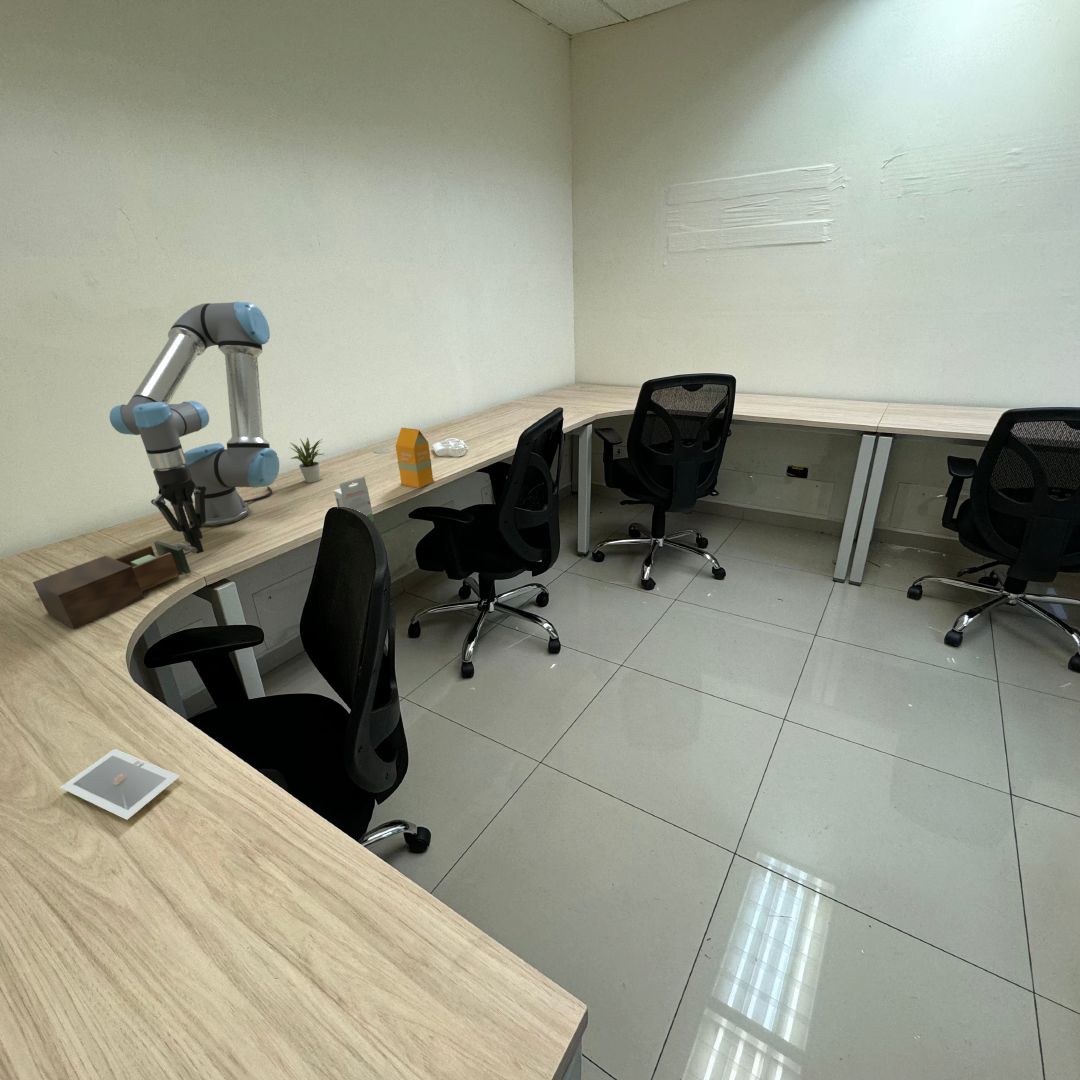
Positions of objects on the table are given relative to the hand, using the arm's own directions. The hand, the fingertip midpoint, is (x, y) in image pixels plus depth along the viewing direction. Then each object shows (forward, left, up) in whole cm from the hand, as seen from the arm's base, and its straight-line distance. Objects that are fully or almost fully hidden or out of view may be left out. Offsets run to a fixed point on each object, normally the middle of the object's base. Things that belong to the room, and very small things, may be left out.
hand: (198, 551), depth 147 cm
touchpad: (+49, +63, -3) cm, 80 cm away
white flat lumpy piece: (-112, -3, -3) cm, 112 cm away
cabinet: (+25, 0, -3) cm, 25 cm away
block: (+12, 0, -1) cm, 13 cm away
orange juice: (-74, +11, -3) cm, 75 cm away
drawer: (+10, 0, -2) cm, 11 cm away
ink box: (-37, +20, -3) cm, 42 cm away
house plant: (-60, -27, -3) cm, 66 cm away
